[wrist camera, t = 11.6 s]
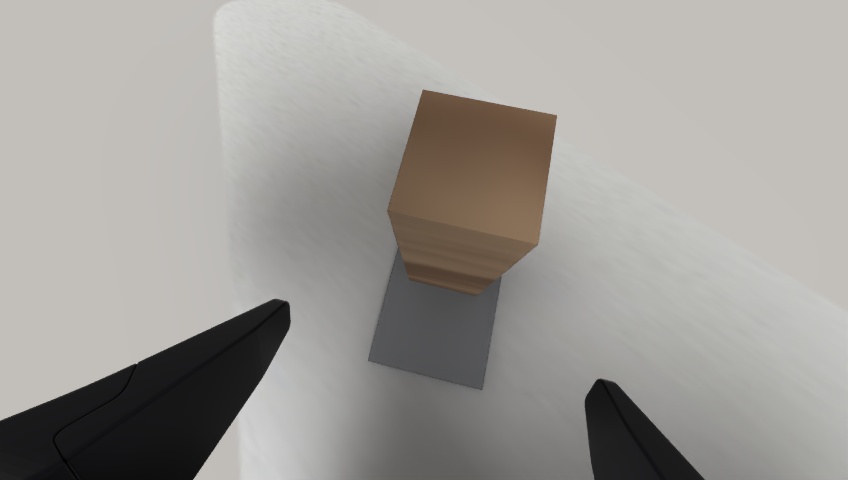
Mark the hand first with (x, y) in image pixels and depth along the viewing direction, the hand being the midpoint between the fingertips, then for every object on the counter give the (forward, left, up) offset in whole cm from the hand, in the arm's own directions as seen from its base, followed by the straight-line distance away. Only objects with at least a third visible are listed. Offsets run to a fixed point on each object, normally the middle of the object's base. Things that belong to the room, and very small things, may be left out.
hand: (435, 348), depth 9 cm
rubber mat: (+4, 0, -12) cm, 12 cm away
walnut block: (+6, 0, -11) cm, 12 cm away
